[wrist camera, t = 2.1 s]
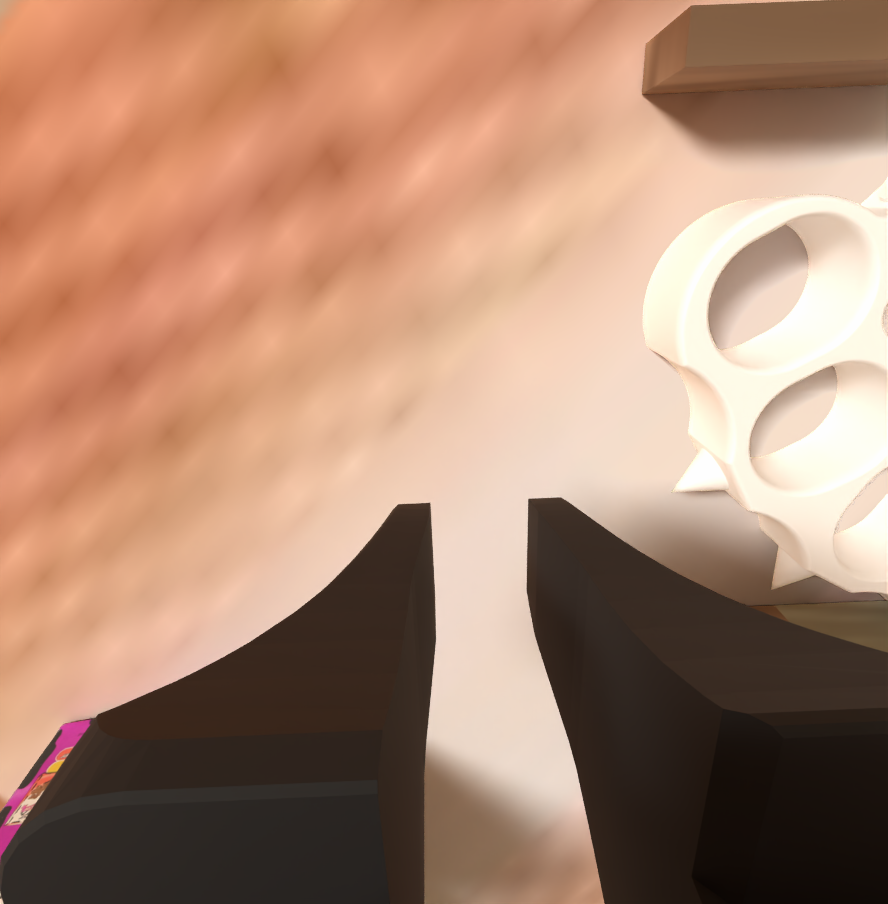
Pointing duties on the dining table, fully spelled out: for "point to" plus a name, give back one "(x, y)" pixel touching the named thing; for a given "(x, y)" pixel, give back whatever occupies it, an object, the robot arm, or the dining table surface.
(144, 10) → the dining table surface
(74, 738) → the candy bar box
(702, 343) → the white brass knuckles
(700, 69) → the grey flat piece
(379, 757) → the robot arm
